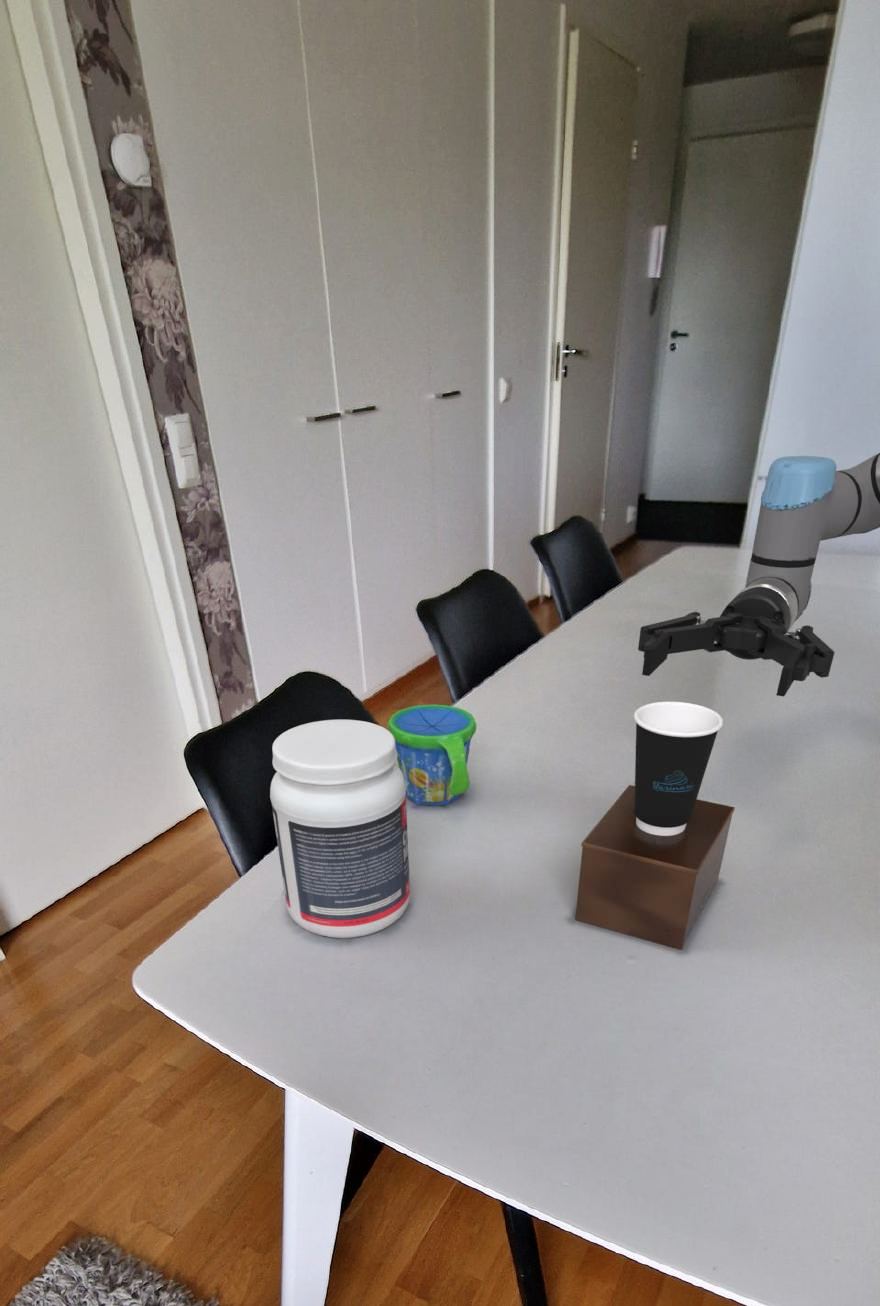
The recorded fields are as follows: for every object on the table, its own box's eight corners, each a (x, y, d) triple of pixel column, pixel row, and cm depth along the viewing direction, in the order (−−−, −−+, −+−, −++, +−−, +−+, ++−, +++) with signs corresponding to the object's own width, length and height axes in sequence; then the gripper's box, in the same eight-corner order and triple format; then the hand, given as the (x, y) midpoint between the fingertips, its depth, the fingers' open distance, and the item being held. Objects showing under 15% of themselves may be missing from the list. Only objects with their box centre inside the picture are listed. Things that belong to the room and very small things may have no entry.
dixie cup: (661, 798, 88) (678, 695, 81) (719, 829, 82) (742, 721, 76) (603, 818, 84) (615, 711, 78) (659, 851, 79) (677, 740, 72)
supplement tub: (436, 907, 88) (433, 740, 77) (341, 961, 80) (323, 785, 70) (355, 863, 95) (343, 705, 84) (262, 909, 88) (234, 742, 77)
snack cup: (494, 814, 104) (496, 736, 98) (413, 829, 101) (410, 749, 95) (450, 765, 116) (450, 692, 110) (377, 776, 113) (373, 703, 107)
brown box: (718, 881, 91) (735, 807, 86) (682, 951, 81) (698, 871, 76) (619, 857, 96) (629, 784, 90) (573, 920, 86) (581, 842, 80)
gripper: (862, 666, 97) (835, 729, 82) (650, 637, 107) (591, 689, 92) (881, 597, 93) (856, 651, 78) (658, 574, 102) (598, 618, 87)
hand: (713, 672), depth 85 cm, fingers open, 13 cm apart
